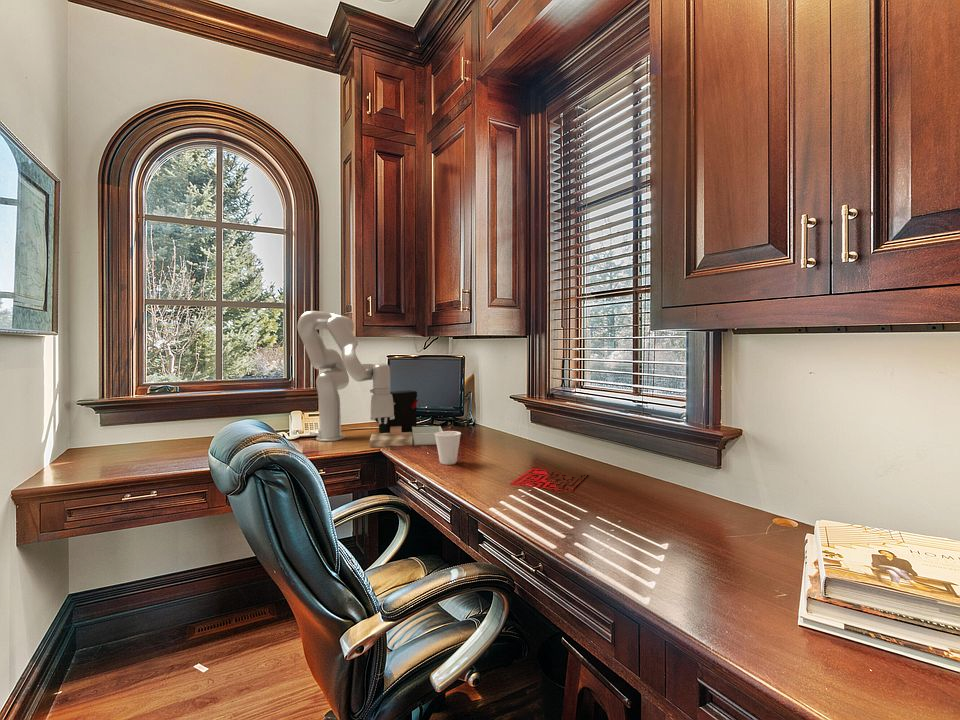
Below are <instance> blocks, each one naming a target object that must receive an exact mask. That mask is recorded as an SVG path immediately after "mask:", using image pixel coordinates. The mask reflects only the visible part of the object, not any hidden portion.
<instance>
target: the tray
mask: <svg viewBox="0 0 960 720" xmlns="http://www.w3.org/2000/svg"><path fill="white" fill-rule="evenodd" d="M441 431H444V430H443V428H442V426H441V425H437V426H434V425H433V426H417V427H412V432H411V433H412V443H413V446H416V447H417V446H433V445H435V446H437V443H436V438H435V435H434V434H435V433H437V432H441Z"/></svg>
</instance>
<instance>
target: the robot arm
mask: <svg viewBox="0 0 960 720" xmlns="http://www.w3.org/2000/svg"><path fill="white" fill-rule="evenodd" d="M354 329H355V324H354V321H353V320H352V319H351V318H350V317H349V316H345V315H340V314H337V313H332V312H329V311H322V310H321V311H320V310H318V311H317V310H310V311H309V310H308V311H305V312H304V313H302V314H301V315H300V317H299V319H298V321H297V332H298V334H299V337H300V339H301V341H302V344H303V345H304V348H305V349H304V350H305V351H306V353H307V356H308V359H309V361H310V363H311V366H312V367H313V368H314V369H315V370H319V371H320V370H325V371H323V372H321V373H319V374H318V375H317V377H316V380H315V386H316V391H317V398H318V412H319V413H318V417H319V420H318V422H319V423H318V424H319V429H317V430H310V431H309V436H316V440H317V441H319V442H335V441H340V440H344V439H345V435H344V434H343V433H342V424H341V421H342V419H341V397H340V394H339V390H343V389H345V388H346V387H347V386H348V385H349V383H350V377H351V378H352V379H353V380H354V381H356V382H358V383H359V382H367V381H372V389H369V393H370V394H373V395H371V397H370V398H371V399H370V420H371V421H375V422H376V423H377V424H378V427H379V426H380V431H381V433H385V431H386V424H387V422H388V421H389V420H392V419H395V416H394V403H393V396H392V394H390V392H391V367H390V365H389V364H385V363H381V364H377V363H376V364H374V363H361V362H360V360H359V358H358V356H357V353H356V349H357V346H358V345H359V341H358V339H357V338H356V336H355V335H354V333H353V332H354ZM317 330H325V331H328V332H329V333H330V335H331V337H332V339H333V340H334V341H335V343H336V344H337V346H338V347H339V350H340V351H341V354H340V353H339V352H338V351H337V350H335V349H333V348H327V347H326V345H325V343H324V340H323V338H322V336H321V335H320V334H319V332H318V331H317ZM387 417H388V418H387ZM381 418H385V419H384V422H383V424H382V421H381Z"/></svg>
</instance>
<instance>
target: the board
mask: <svg viewBox="0 0 960 720" xmlns="http://www.w3.org/2000/svg"><path fill="white" fill-rule="evenodd" d="M403 446H409V447H410V446H414V444H413V437H412V432H402V435H390V433H379V432H378V433H371V435H370V438H369V448H383V447H385V448H386V447H403Z"/></svg>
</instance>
